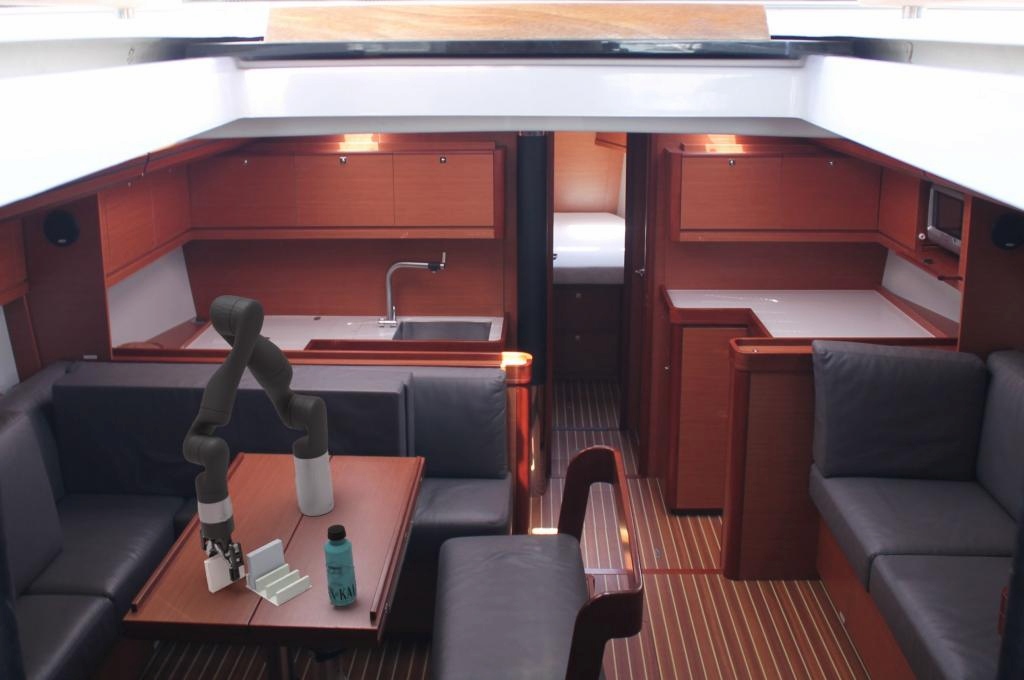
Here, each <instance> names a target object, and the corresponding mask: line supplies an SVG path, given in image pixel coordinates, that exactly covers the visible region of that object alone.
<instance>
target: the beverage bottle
mask: <svg viewBox="0 0 1024 680" xmlns="http://www.w3.org/2000/svg"><path fill="white" fill-rule="evenodd" d="M346 532H347V531H346V528H345V526H344V525H341V524H334V525H331V526H329V527H328V528H327V539H328V540H327V541H326V543H324V545H323V550H324V558H325V568H326V569H325V572H326V580H327V590H328V597H329V601H330V602H331V604H333V605H335V606H341V607H342V606H347V605H350V604H352V603H353V602H354V601H355V600H356V599H357V596H358V590H357V579H356V573H355V572H356V571H355V565H354V555H353V547H352V546H353V544H352V541H351V540H350V539H348V538H346V537H347V533H346Z"/></svg>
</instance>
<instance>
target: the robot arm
mask: <svg viewBox="0 0 1024 680" xmlns="http://www.w3.org/2000/svg"><path fill="white" fill-rule="evenodd" d="M209 318H210V319H209V320H210V323H211V325H212V328H213V329H214V330H215V331H216V333H217V334H218V335H219V336H220V337H221V338H223V340H224V341H225V342H226V343H227V344H228V345H229V346H230V347H231V350H230V351H229V354H228V356H226V358H225V360H224V361H223V362H222V363H221V365H220V366H219V367H218V368H217V369H216V371H215V372H214V373H213V374H212V375H211V377H210V378H209V380H208V381H207V383H206V386H205V388H204V390H203V394H202V399H201V403H200V408H199V411H198V414H197V416H196V417H195V419H194V421H193V422H192V425H191V426H190V428H189V429H188V431H187V434H186V436H185V438H184V440H183V443H182V454H183V457H184V459H185V460H186V461H188V463H191V464H195V465H199V466H203V467H204V469H205V470H204V471H202V472H200V473H198V474H197V475H196V477H195V480H194V483H195V493H196V499H197V512H198V517H199V523H200V528H199V536H200V544H201V550H202V551H204V552H205V553H206V555H207V556H208V559H209V558H211V557H213V556H215V555H217V554H220V555H221V557H222V559H223V561H226V563H227V565H228V567H229V573H230V580H231V581H232V582H233V583H235V582H237V581H239V580H241V579H240V572H239V567H240V566H243V565H245V561H244V555H243V550H242V545H241V543H240V542H239V541H237V542H236V543H235V542H234V541H233V538H232V534H233V533H234V531H235V529H236V526H235V525H236V524H235V517H234V512H233V511H234V510H233V505H232V500H231V496H230V493H229V487H228V481H227V478H228V471H229V465H230V464H229V463H230V457H231V455H230V453H231V452H230V447H229V445H228V444H227V441H226V440H224V438H221V437H220V436H214V435H213V433H214V431H215V430H216V428H217V427H225V426H226V425H228V424H229V422H230V419H231V417H232V412H233V408H234V403H235V400H236V396H237V392H238V389H239V386H240V382H241V380H242V377H243V374H244V372H245V370H246V368H247V369H248V370H249V372H250V374H251V375H252V376H253V378H254V379H255V380H256V382H257V383H258V384H259V386H260V387H261V388H262V389H263V391H264V392H265V394H266V395H267V397H268V398H269V400H270V401H271V404H273V406H274V409H275V411H276V413H277V415H278V417H279V418H280V420H281V422H282V423H283V425H284V426H286V427H287V428H289V429H292V430H297V431H307V435H304V436H302V437H299V438H298V439H296V440H295V441H294V442H293V444H292V447H291V448H292V456H293V462H294V469H295V476H294V483H295V491H296V499H297V506H298V508H299V509H300V512H301V513H302V514H303V515H305V516H308V517H317V516H322V515H326V514H328V513H330V512H331V511H333V509H334V508H335V501H334V491H333V483H332V482H333V481H332V475H331V473H332V472H331V466H330V457H329V450H328V449H329V447H328V441H329V440H328V439H329V433H328V430H329V429H328V416H327V415H328V413H327V406H326V403H325V400H324V399H323V398H322V397H320V396H315V395H313V396H312V395H302V394H297V393H295V392H294V391H293V389H291V388H290V385H291V383H292V380H293V375H294V370H293V366H292V364H291V362H290V361H289V359H288V357H286V354H285V353H284V352H283V350H282V349H281V348H280V347H279V346H278V345H277V344H275V343H274V342H272V341H271V340H269V339H268V338H267V337H266V336H264V335H262V334H261V331H262V328H263V326H264V321H265V310H264V307H263V304H262V303H261V301H258V300H257V299H253V298H248V297H242V296H238V295H230V294H229V295H228V294H227V295H220V296H217V297H216V298H215V299H213V301H212V302H211V304H210V308H209ZM229 552H230V555H228V556H226V555H225V554H227V553H229ZM230 558H231V561H230ZM238 558H239V559H238ZM231 562H232V563H231ZM238 579H239V580H238Z"/></svg>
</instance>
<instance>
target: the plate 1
mask: <svg viewBox="0 0 1024 680" xmlns="http://www.w3.org/2000/svg"><path fill="white" fill-rule="evenodd" d="M225 555H226V556H228V555H230V552H229V553H227V554H225ZM238 559H239V558H238ZM230 561H231V558H230ZM203 562H204V568H205V569H204V570H205V575H206V582H207V586H208V591H209V592H210V593H212V594H214V593H216V592H218V591H219V590H222V589H223V588H225V587H227V586H229V585H231V584H233V583H234V582H232V581H231V580H230V573H229V567H228V565H227V563H226V561H223V559H222V557H221V555H220V554H219V553H218V554H217V555H215V556H213V557H211V558H209V557H208V558H207V559H205V560H204V561H203ZM231 563H232V562H231ZM244 565H245V564H244ZM244 565H243V566H240V567H239V572H240V579H238V580H237V581H239V580H241V579H243V578H244V577H246V572H245V566H244Z"/></svg>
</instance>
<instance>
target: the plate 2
mask: <svg viewBox="0 0 1024 680" xmlns="http://www.w3.org/2000/svg"><path fill="white" fill-rule="evenodd" d="M245 556H246V563H247V569H248V570H247V571H248V573H249V578H250V584H251V588H252V589H254V590H256V582H255V580H257V579H259V578H261V577H262V576H264V575H266V574H268V573H270V572H272V571H274V570H276V569H277V568H279V567H281V566H283V565H285V564H286V563H285V561H286V560H285V554H284V547H283V541H282V540H281V539H279V538H276V539H275V540H273V541H270V542H269V543H267V544H264V545H263V546H261V547H259V548H257V549H254V550H253V551H251V552H249V553H247V554H245Z"/></svg>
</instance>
